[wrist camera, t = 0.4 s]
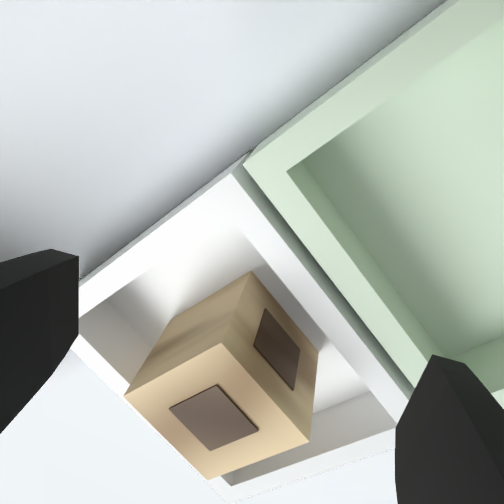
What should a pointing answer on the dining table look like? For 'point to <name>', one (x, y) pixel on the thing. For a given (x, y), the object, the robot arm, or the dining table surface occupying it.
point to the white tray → (285, 293)
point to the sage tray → (409, 189)
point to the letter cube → (229, 380)
